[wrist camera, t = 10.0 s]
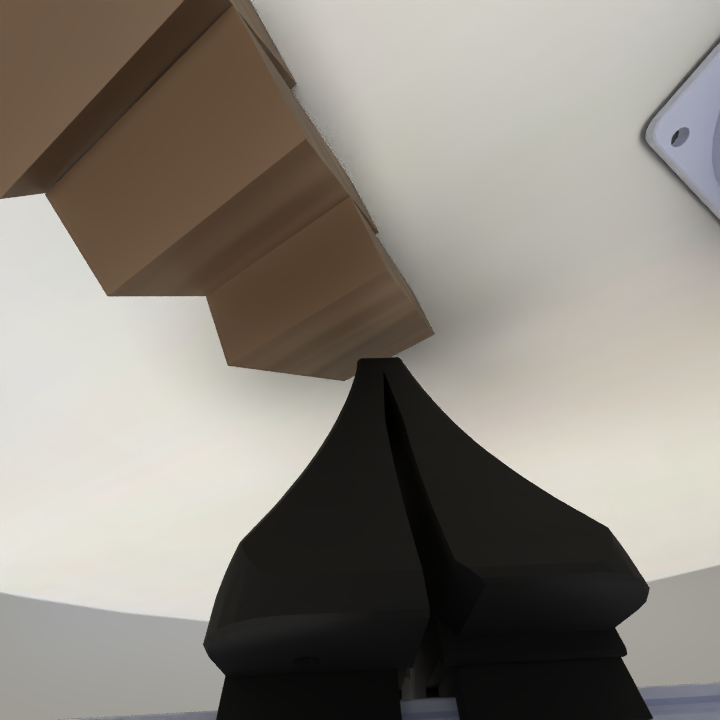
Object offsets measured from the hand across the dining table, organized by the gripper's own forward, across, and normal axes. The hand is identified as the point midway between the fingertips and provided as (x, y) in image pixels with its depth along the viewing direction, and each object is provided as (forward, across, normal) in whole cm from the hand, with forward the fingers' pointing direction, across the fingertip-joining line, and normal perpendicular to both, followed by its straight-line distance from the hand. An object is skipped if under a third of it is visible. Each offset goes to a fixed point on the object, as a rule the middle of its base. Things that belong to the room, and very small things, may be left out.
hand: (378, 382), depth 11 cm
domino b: (+4, +2, -4) cm, 6 cm away
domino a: (+4, 0, 0) cm, 4 cm away
